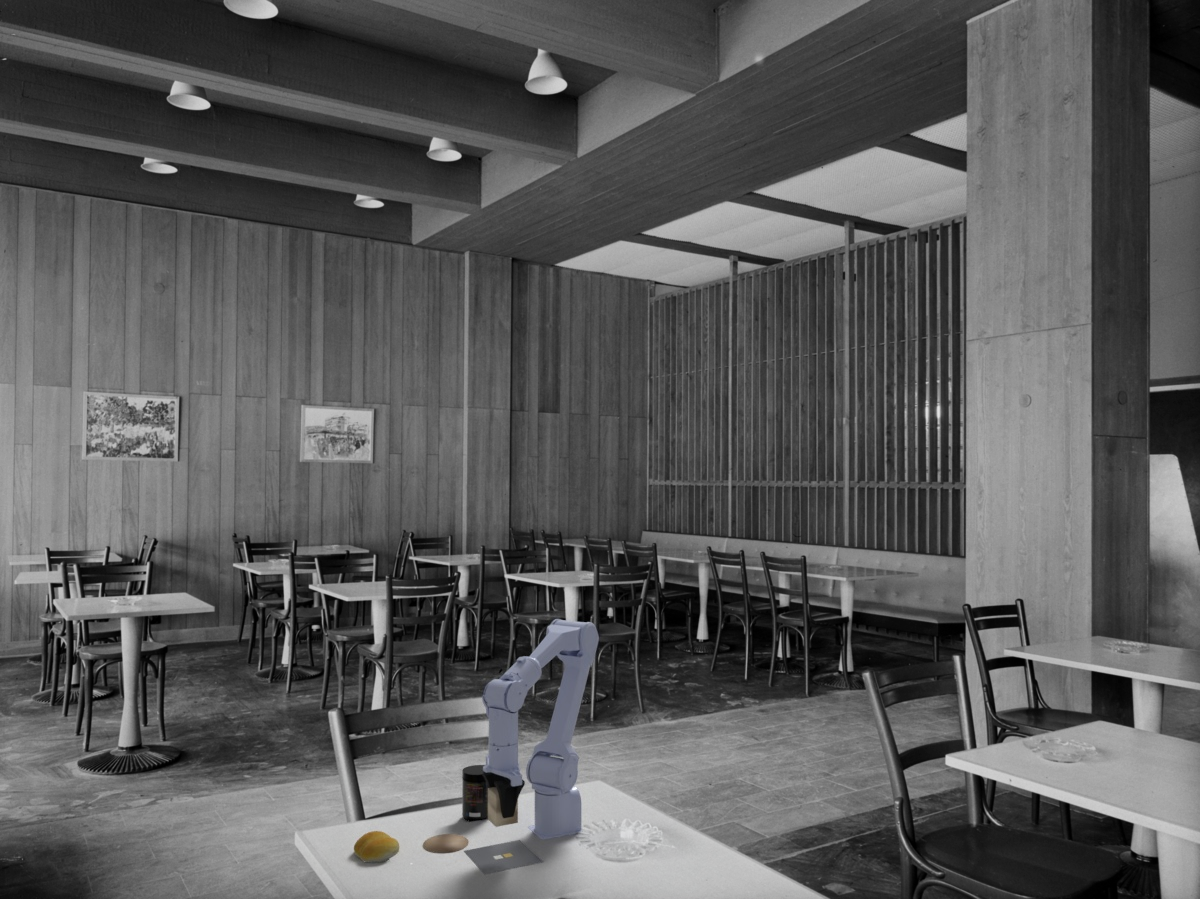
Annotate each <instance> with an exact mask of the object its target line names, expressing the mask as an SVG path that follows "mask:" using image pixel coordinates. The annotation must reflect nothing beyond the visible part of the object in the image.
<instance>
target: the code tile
mask: <svg viewBox="0 0 1200 899" xmlns="http://www.w3.org/2000/svg"><path fill="white" fill-rule="evenodd" d="M463 852H464V853H465V854H466V856H467V857H468V858H469V859H470V861H472V862H473V863H474V864H475V866H476V867H477V868H478V869H479V870H480V871H481V872H482V873H483V874H484V875H490V874H495V873H499V872H502V871H507V870H512V869H517V868H523V867H526V866H532V865H536V864H541V863H544V862H545V861H544V860H542V859H541V858H540V857H539V856H538V855H537V854H536V853H535V852H534V851H533V850H532V849H531V848H530V847H528V846H527V845H526V843H524V842H523V841H522V840H521V839H517V840H512V841H507V842H503V843H497V844H492V845H487V846H482V847H476V848H472V849H471V848H470V849H466V850H463Z"/></svg>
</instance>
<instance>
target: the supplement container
mask: <svg viewBox="0 0 1200 899" xmlns="http://www.w3.org/2000/svg"><path fill="white" fill-rule="evenodd" d="M484 766H486V764H475V765H474V764H473V765H469V766H466V767H463V769H462V770H461V771H462V774H461V776H462V777H461V779H462V781H461V782H462V783H461V785H462V788H461V789H462V791H461V792H462V794H461V796H462V803H461V806H462V808H461V810H462V812H461V813H462V814H461V816H462V818H463V820H464V821H466V822H468V823H470V822H471V823H473V822H477V821H485V820H488V785H487V783H486V780H485V778H484V776H483V772H484V771H483V767H484Z"/></svg>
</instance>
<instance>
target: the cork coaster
mask: <svg viewBox="0 0 1200 899" xmlns="http://www.w3.org/2000/svg"><path fill="white" fill-rule="evenodd" d="M469 842H470V840H469V839H468V838H467V837H466V836H464V835H461V834H457V833H456V834H455V833H445V834H437V835H433V836H431V837H429V838H427V839H425V840H424V841H423V844H422V846H423V849H424V850H426V851H428V852H430V853H435V854H450V853H456V852H460V851H461V850H464V849H465V848H467V847H468V846H469Z"/></svg>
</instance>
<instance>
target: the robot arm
mask: <svg viewBox="0 0 1200 899" xmlns="http://www.w3.org/2000/svg"><path fill="white" fill-rule="evenodd" d="M545 632H546V633H545V637H544V638H543V639H542V640H541V642H540V643H539V644H538V645H537V646H536V647H535V649H534V650H533V652H532V653H531V654H530V655H529V656H527V655H526V656H525V655H523V656H519V657H518V658H517V659H516V661H515V662H514V663H513V665H511V667H509V669H507V670H506V671H505V672H504V673H503V675H501V676H500V677H499V679H498V678H494V679H492V680H490V681H489V682H488V683H486V685H485V688H484V690H483V695H481V698H482V699H481V700H482V703H483V706H484V707H485V709H486V710H485V715H486V716H487V718H488V755H485V765H486V766H484V767H483V771H484V772H483V776H484V778H485V780H486V783H487V785H488V788H492V787H496V788H497V791H498V794H499V798H500V805H501V813H502V817H503V818H509V817H513V816H514V813H515V809H516V804H517V800H518V801H519V797H520V794H521V792H522V790H523V788H524V786H525V785H526V784H525V783H526V782H525V780H524V779H523V775H522V773H521V771H520V770H521V769H520V763H519V710H520V709H522V707H523V705H524V703H525V699H526V697H527V696H528V692H529V691H530V689H531V688H533V686H534V685H535V684H536V683H537V682H538V681H539V680H540V679H541V677H542V672H543V671H542V669H543V668H544V667H545V666H546V665H548V663H550V662H551V660H553V659H554V658H556V657H557V658H558V659H559V660H560V661H562V662H563V664H564V670H563V673H562V674H563V675H562V678H561V682H560V686H559V689H558V694H557V698H556V701H555V703H554V704H555V705H554V709H553V711H552V712H553V713H552V717H551V720H550V725H549V728H548V732H547V736H546V738H545V739H544V740H543V741H541V742H539V743H538V744H536V745H535V746H534V749H533V752H532V755H531V756H530V757H529V760H528V762H527V763H526V767H525V768H526V769H525V775H526V779H527V781H528V782H529V783H530V784H531V790H534V824H533V825H528V826H527V828H528V829H529V830H530V831H531V832H532V833H533V834H534V835H536V836H537V837H538V838H539V839H540V840H547V839H553V838H557V837H562V836H569V835H573V834H574V835H575V834H579V833H583V829H582V796H581V793H580V790H579V788H578V787H577V786H575V785H576V784H577V780H578V774H579V773H578V772H579V771H578V767H579V760H580V757H579V755H578V753H577V752H576V750H575V749H574V748H573V746H572V740H573V736H574V732H575V728H576V724H577V721H578V716H579V712H580V708H581V704H582V701H583V696H584V692H585V690H586V689H585V688H586V685H587V680H588V676H589V671H590V668H591V665H592V664H593V663H594V661H595V657H596V651H597V649H598V645H599V641H600V636H599V632H598V630H597V627H596V625H595V624H594V623H593V622H591V621H587V622H584V621H574V620H563V619H561V618H555V619H553V620H552V621H551V623H550V624H549V625H547V627H546V631H545Z"/></svg>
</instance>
